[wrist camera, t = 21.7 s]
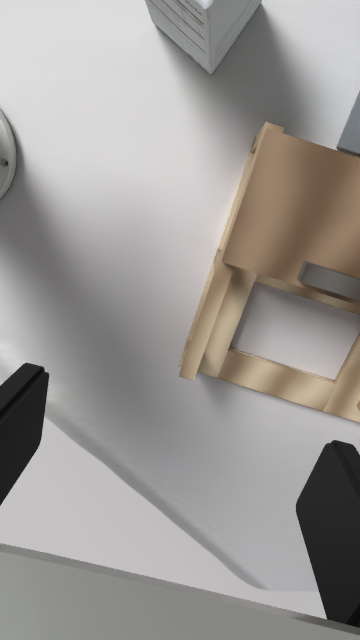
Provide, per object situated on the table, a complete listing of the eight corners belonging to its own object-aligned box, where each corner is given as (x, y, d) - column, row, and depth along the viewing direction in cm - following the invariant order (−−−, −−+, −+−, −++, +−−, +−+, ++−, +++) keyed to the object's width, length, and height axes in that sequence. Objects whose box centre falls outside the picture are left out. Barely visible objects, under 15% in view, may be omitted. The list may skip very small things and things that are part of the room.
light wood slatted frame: (179, 362, 43) (173, 392, 37) (256, 133, 34) (267, 117, 27) (357, 418, 44) (383, 458, 37) (481, 206, 34) (547, 208, 28)
